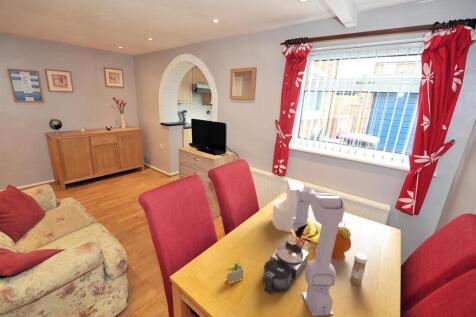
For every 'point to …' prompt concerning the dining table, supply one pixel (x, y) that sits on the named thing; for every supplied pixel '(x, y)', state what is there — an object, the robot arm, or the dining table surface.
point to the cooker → (281, 273)
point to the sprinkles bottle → (358, 268)
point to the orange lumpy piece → (341, 243)
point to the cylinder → (286, 207)
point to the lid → (290, 253)
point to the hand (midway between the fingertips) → (299, 236)
